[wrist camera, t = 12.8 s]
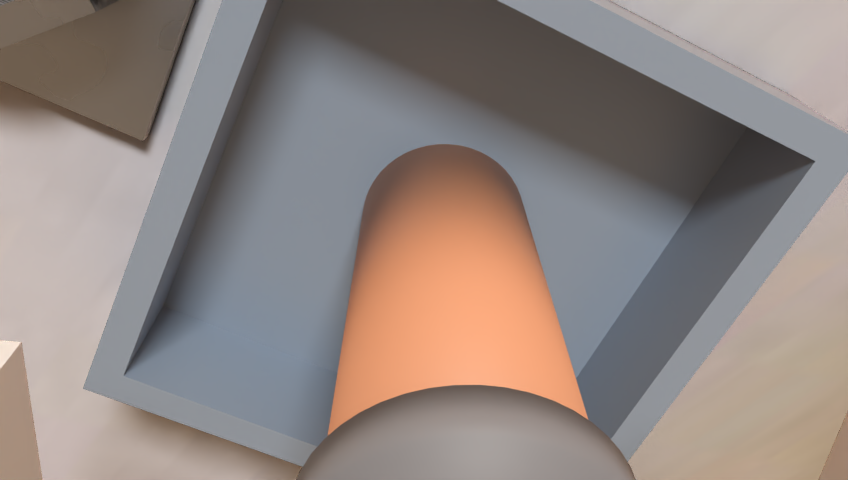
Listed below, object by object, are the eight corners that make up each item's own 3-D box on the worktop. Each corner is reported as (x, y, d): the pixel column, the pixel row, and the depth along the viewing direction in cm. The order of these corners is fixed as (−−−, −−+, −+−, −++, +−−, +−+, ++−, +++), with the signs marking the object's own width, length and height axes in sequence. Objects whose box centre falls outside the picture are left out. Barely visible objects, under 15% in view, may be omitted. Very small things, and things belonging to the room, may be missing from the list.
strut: (318, 260, 22) (222, 647, 11) (396, 96, 20) (371, 375, 9) (483, 329, 23) (540, 743, 12) (573, 179, 21) (737, 516, 10)
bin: (134, 306, 23) (83, 388, 20) (307, -158, 18) (279, -161, 14) (536, 460, 26) (555, 556, 22) (790, 94, 21) (868, 144, 17)
